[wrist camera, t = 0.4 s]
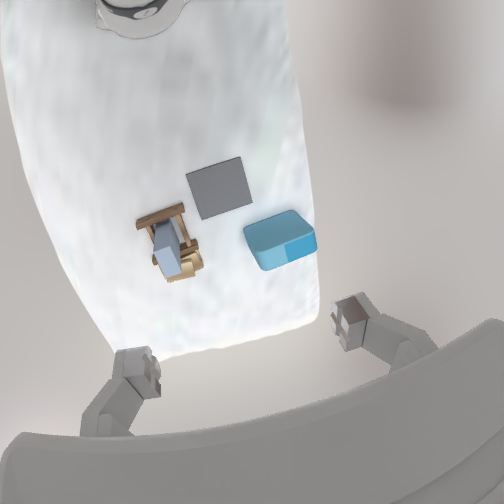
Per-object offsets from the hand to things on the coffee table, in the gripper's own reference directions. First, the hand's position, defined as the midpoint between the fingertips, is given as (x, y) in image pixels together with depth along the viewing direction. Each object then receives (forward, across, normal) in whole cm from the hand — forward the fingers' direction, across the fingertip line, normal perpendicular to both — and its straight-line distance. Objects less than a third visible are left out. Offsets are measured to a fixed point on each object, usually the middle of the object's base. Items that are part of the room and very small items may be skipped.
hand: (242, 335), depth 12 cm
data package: (+48, -11, +21) cm, 53 cm away
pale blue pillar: (+46, +10, +16) cm, 50 cm away
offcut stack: (+46, +10, +24) cm, 52 cm away
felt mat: (+47, -2, +10) cm, 48 cm away
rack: (+46, +10, +16) cm, 50 cm away
